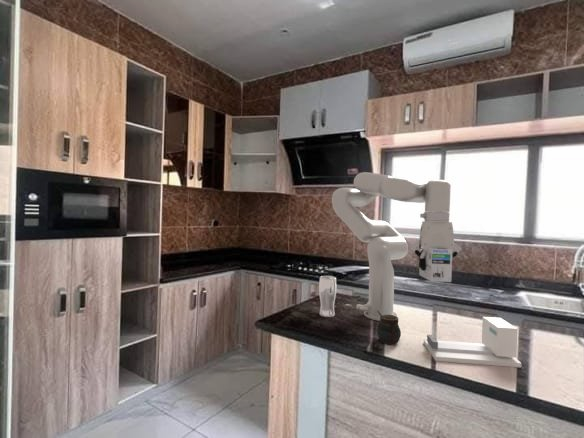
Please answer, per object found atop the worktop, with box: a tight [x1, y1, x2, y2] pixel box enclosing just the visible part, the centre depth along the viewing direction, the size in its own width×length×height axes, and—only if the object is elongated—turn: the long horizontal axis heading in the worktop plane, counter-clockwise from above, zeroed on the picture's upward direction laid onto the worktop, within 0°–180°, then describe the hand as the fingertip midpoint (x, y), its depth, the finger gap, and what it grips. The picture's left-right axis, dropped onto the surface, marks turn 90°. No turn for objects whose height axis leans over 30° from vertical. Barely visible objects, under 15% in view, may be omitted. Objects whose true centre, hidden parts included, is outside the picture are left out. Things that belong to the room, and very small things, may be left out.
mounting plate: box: [423, 334, 522, 368], centre depth 93 cm, size 22×12×4 cm, turn 82°
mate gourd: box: [376, 311, 402, 346], centre depth 100 cm, size 7×8×10 cm
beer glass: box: [318, 275, 338, 318], centre depth 126 cm, size 7×7×15 cm
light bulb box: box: [418, 248, 453, 283], centre depth 106 cm, size 11×7×11 cm, turn 179°
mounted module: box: [481, 316, 518, 358], centre depth 91 cm, size 5×9×8 cm, turn 172°
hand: (434, 270), depth 106 cm, fingers closed on light bulb box, 7 cm apart
